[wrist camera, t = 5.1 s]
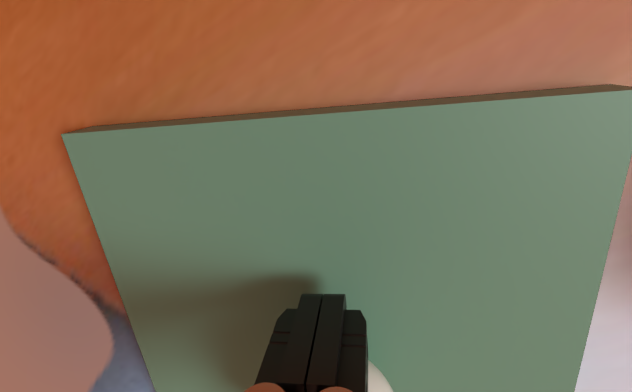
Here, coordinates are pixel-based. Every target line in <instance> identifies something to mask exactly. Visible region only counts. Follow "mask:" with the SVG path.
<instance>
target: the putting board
mask: <svg viewBox="0 0 632 392" xmlns="http://www.w3.org/2000/svg"><path fill="white" fill-rule="evenodd" d="M61 136H62V139H63V141H64V144H65V147H66V149H67V152H68V155H69V158H70V160H71V163H72V166H73V168H74V171H75V174H76V177H77V179H78V182H79V185H80V187H81V190H82V193H83V196H84V198H85V201H86V204H87V206H88V209H89V212H90V215H91V217H92V220H93V223H94V225H95V228H96V231H97V234H98V236H99V239H100V242H101V244H102V247H103V250H104V253H105V255H106V258H107V261H108V263H109V266H110V269H111V272H112V274H113V277H114V280H115V282H116V285H117V288H118V291H119V293H120V296H121V299H122V301H123V304H124V307H125V310H126V312H127V315H128V318H129V320H130V323H131V326H132V329H133V331H134V334H135V337H136V339H137V342H138V345H139V348H140V350H141V353H142V356H143V359H144V361H145V364H146V367H147V369H148V372H149V375H150V378H151V380H152V383H153V386H154V388H155V391H156V392H244V391H245V390H247V389H248V388H250V387H251V386H253V385H254V383H255V381H256V378H257V375H258V372H259V369H260V366H261V364H262V361H263V358H264V355H265V352H266V349H267V347H268V344H269V341H270V338H271V335H272V334H273V330H274V327H275V324H276V321H277V319H278V318H279V316H280V315H281V314H282V313H283V312H284V311H285V310H286V309H287V308H290V309H297V308H298V304H299V301H300V297H301V295H302V294H323V295H324V294H345V295H346V305H347V310H361V312H362V314H363V316H364V318H365V320H366V323H367V341H368V360H369V361H370V362H371V363H373V364H374V365H375V366H376V367H377V368H378V369H379V370H380V372H381V373H382V374H383V375H384V377H385V378H386V380H387V381H388V383H389V385H390V386H391V388H392V390H393V392H574V390H575V386H576V382H577V378H578V374H579V370H580V366H581V361H582V357H583V353H584V349H585V345H586V341H587V337H588V333H589V328H590V324H591V320H592V316H593V312H594V308H595V304H596V300H597V295H598V291H599V287H600V283H601V279H602V275H603V271H604V267H605V262H606V258H607V254H608V250H609V246H610V242H611V238H612V234H613V229H614V225H615V221H616V217H617V213H618V209H619V205H620V201H621V196H622V192H623V188H624V184H625V180H626V176H627V172H628V168H629V163H630V159H631V155H632V87H630V86H621V85H612V84H609V85H597V86H584V87H572V88H560V89H547V90H535V91H523V92H510V93H498V94H486V95H473V96H461V97H449V98H436V99H424V100H412V101H399V102H387V103H374V104H362V105H350V106H337V107H325V108H313V109H300V110H288V111H276V112H263V113H251V114H239V115H226V116H214V117H202V118H189V119H177V120H165V121H152V122H140V123H128V124H115V125H103V126H92V127H88V128H84V129H80V130H76V131H72V132H68V133H64V134H61Z"/></svg>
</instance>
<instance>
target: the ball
mask: <svg viewBox="0 0 632 392" xmlns="http://www.w3.org/2000/svg"><path fill="white" fill-rule="evenodd" d="M368 392H393V390H392V388H391V386H390V385H389V383H388V381H387V380H386V378H385V377H384V375H383V374H382V373H381V372H380V370H379V369H378V368H377V367H376V366H375V365H374V364H373V363H371V362H370V361H369V360H368Z"/></svg>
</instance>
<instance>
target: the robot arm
mask: <svg viewBox="0 0 632 392" xmlns="http://www.w3.org/2000/svg"><path fill="white" fill-rule="evenodd" d="M244 392H368V341H367V323H366V320H365V318H364V316H363V314H362V312H361V310H347V305H346V295H345V294H324V295H323V294H302V295H301V297H300V301H299V304H298V308H297V309H290V308H287V309H286V310H285V311H284V312H283V313H282V314H281V315H280V316H279V318H278V319H277V321H276V324H275V327H274V330H273V334H272V335H271V338H270V341H269V344H268V347H267V349H266V352H265V355H264V358H263V361H262V364H261V366H260V369H259V372H258V375H257V378H256V381H255V383H254V385H253V386H251V387H250V388H248V389H247V390H245V391H244Z"/></svg>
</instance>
